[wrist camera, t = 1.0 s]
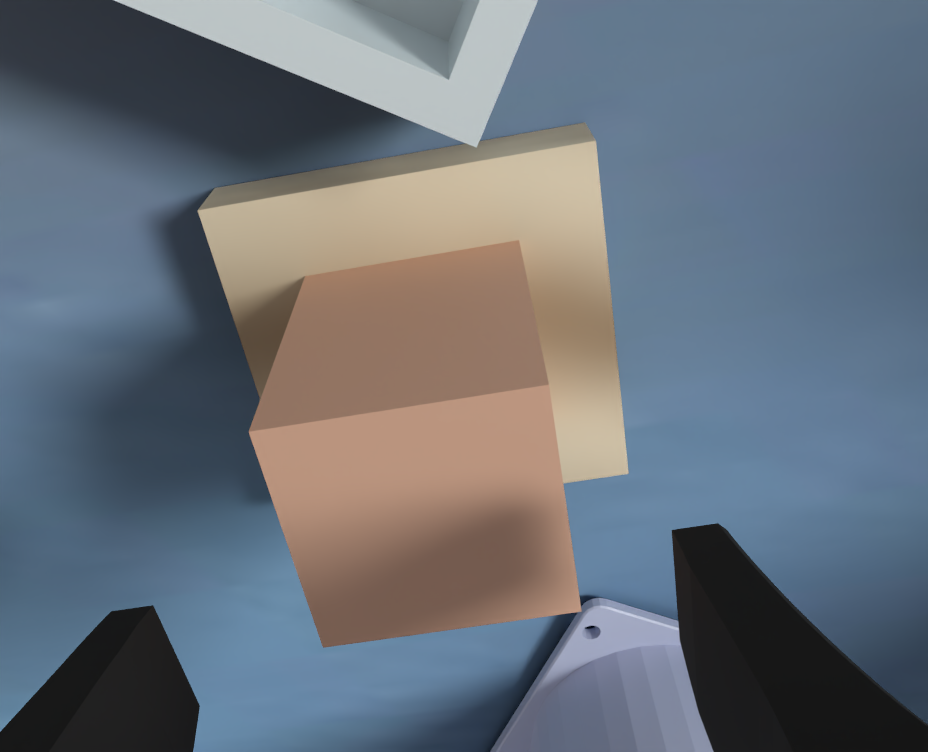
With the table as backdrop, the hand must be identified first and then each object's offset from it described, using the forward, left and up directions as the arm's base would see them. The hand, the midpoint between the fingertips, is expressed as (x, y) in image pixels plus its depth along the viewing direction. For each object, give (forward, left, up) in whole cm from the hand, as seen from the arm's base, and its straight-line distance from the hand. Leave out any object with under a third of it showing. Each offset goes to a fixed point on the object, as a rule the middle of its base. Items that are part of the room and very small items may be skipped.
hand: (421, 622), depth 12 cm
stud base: (0, 0, -10) cm, 10 cm away
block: (0, 0, -8) cm, 8 cm away
